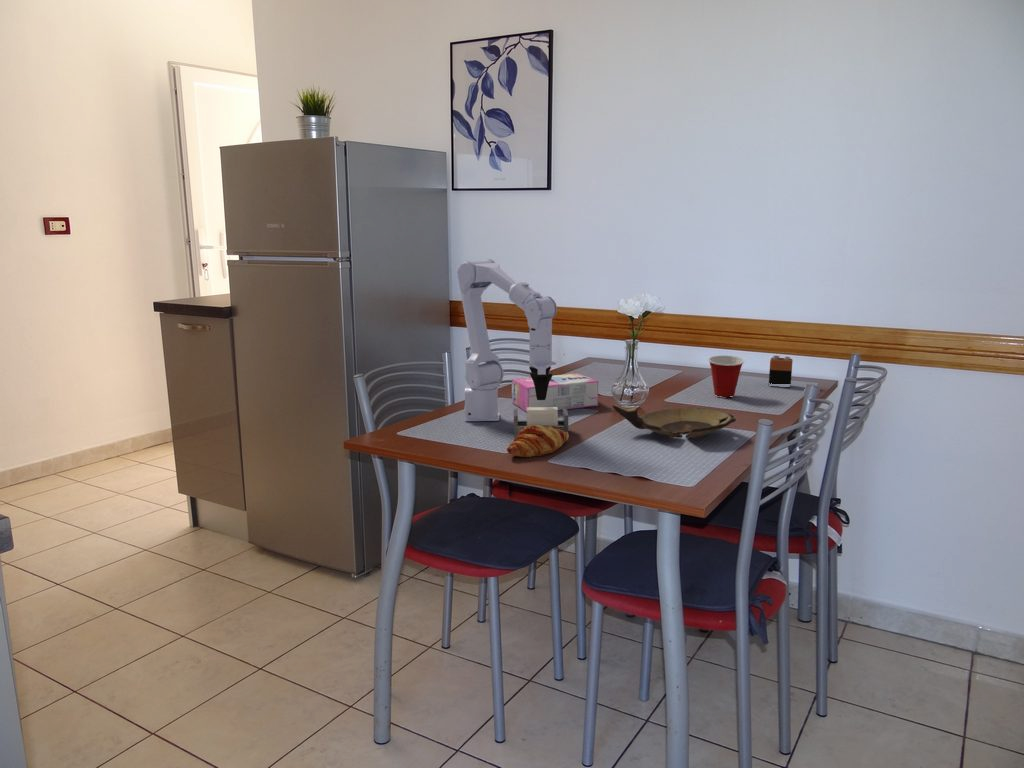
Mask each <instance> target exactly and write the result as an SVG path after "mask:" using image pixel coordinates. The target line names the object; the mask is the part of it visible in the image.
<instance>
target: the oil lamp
mask: <svg viewBox="0 0 1024 768" xmlns="http://www.w3.org/2000/svg"><path fill="white" fill-rule="evenodd" d="M612 409H614V410H615V412H616V413H618V414H619V415H621V417H623V418H625V420H626V421H628V423H630V424H631V425H632V426H634V427H635V428H636V429H638V430H648V431H649V430H650V431H652V432H655V433H657V434H659V435H663V436H667V437H672V438H679V439H682V438H683V435H682V434H686V435H685V438H686V439H690V438H691V439H693V438H698V437H703V436H706V435H710V434H712V433H715V432H717V431H720V430H721V429H724V428H725V427H728V426H729V425H730V424H732V423H735V422H736V421H737V419H736V418H734V415H733V414H731V413H727V412H724V411H720V410H717V409H711V408H710V409H709V408H703V407H702V408H699V407H688V406H687V407H676V408H675V407H674V408H667V409H660V410H656V411H652V412H647V413H645V414H644V415H642V416H639V415H638V408H637V407H632V408H625V407H622V406H619V405H617V404H612Z"/></svg>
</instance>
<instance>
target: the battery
mask: <svg viewBox="0 0 1024 768" xmlns="http://www.w3.org/2000/svg"><path fill="white" fill-rule="evenodd" d="M792 373H793V358H791V356H784V357H780V355H773V356H772V357H771V358H770V360H769V372H768V384H769V383H770V384H771V383H772V384H791V385H792V376H793V375H792Z"/></svg>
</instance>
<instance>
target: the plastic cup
mask: <svg viewBox="0 0 1024 768" xmlns="http://www.w3.org/2000/svg"><path fill="white" fill-rule="evenodd" d="M708 362H709V366H710V369H711V376H712V377H711V378H712V385H713V392H714V396H715V395H717V396H722V397H730V396H734V397H735V394H736V389H737V386H738V381H739V376H740V372H741V370H742V367H743V364H744V363H745V359H744V358H742V357H739V356H734V355H713V356H710V357H709V358H708Z"/></svg>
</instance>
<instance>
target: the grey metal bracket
mask: <svg viewBox="0 0 1024 768" xmlns="http://www.w3.org/2000/svg"><path fill="white" fill-rule="evenodd" d="M518 412H519V411H518V408H517V409H515V408H514V409H513V437H514V438H516V437H517V436H518V434H519V432H520V431H521V430H522V429H524V428H525V427H528V426H527V419H526V420H524V419H523V420H519V413H518ZM542 427H545V426H542ZM550 427H552V428H554V429H556V430H557V429H560V430H562V431H563V432H568V433H569V413H568V409H563V410H562V419H558V426H550Z"/></svg>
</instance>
